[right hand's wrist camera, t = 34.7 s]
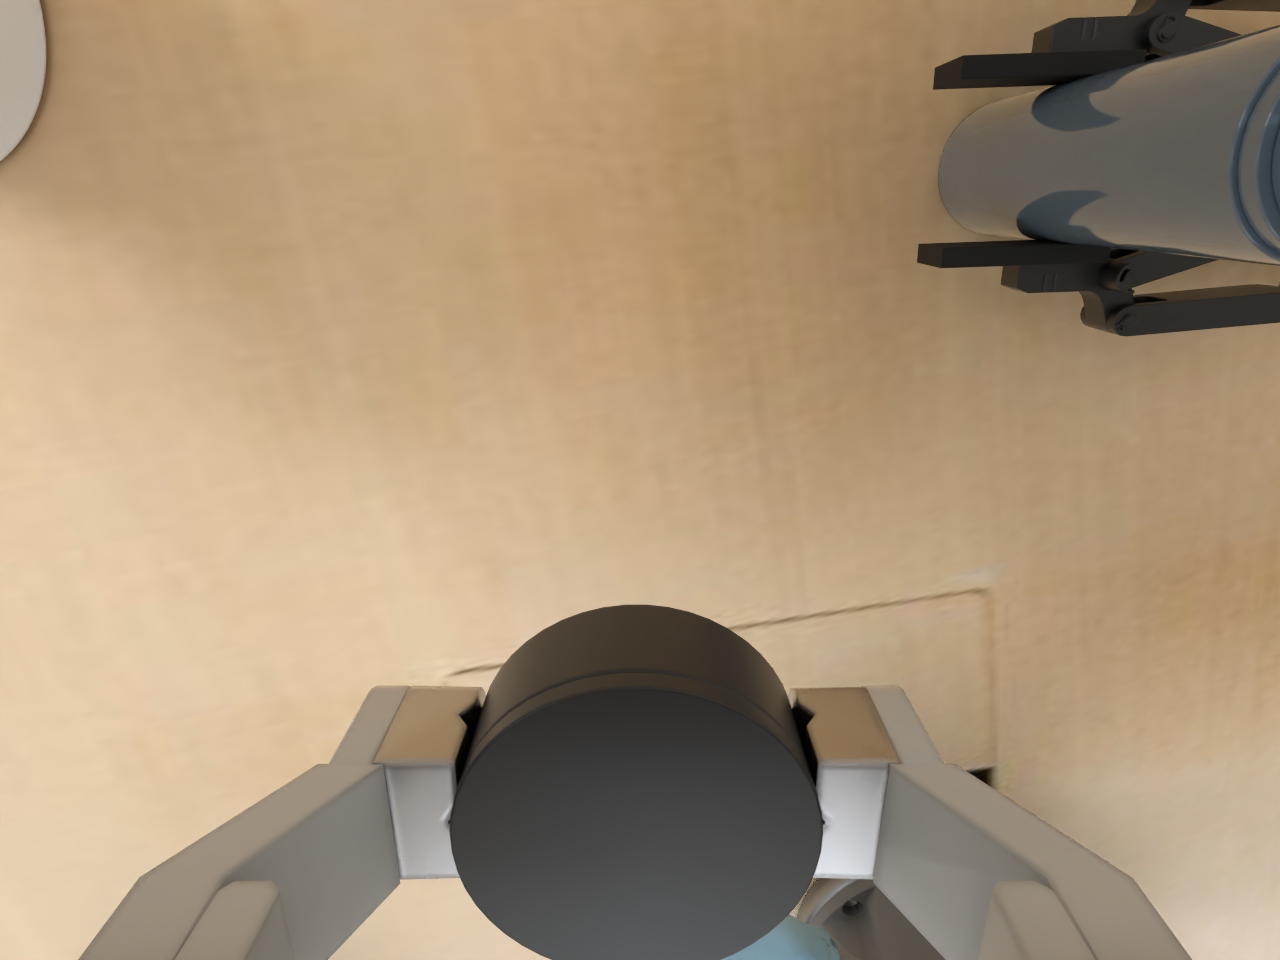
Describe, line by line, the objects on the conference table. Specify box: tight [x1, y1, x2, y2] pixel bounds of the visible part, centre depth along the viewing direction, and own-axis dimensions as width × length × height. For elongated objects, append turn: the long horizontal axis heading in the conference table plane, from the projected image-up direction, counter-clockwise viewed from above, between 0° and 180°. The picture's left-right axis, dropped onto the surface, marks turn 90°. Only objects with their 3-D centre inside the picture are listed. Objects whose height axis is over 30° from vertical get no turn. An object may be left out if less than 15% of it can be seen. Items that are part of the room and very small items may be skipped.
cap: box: [450, 605, 823, 960], centre depth 10 cm, size 4×4×2 cm
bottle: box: [938, 25, 1280, 265], centre depth 24 cm, size 6×6×24 cm
